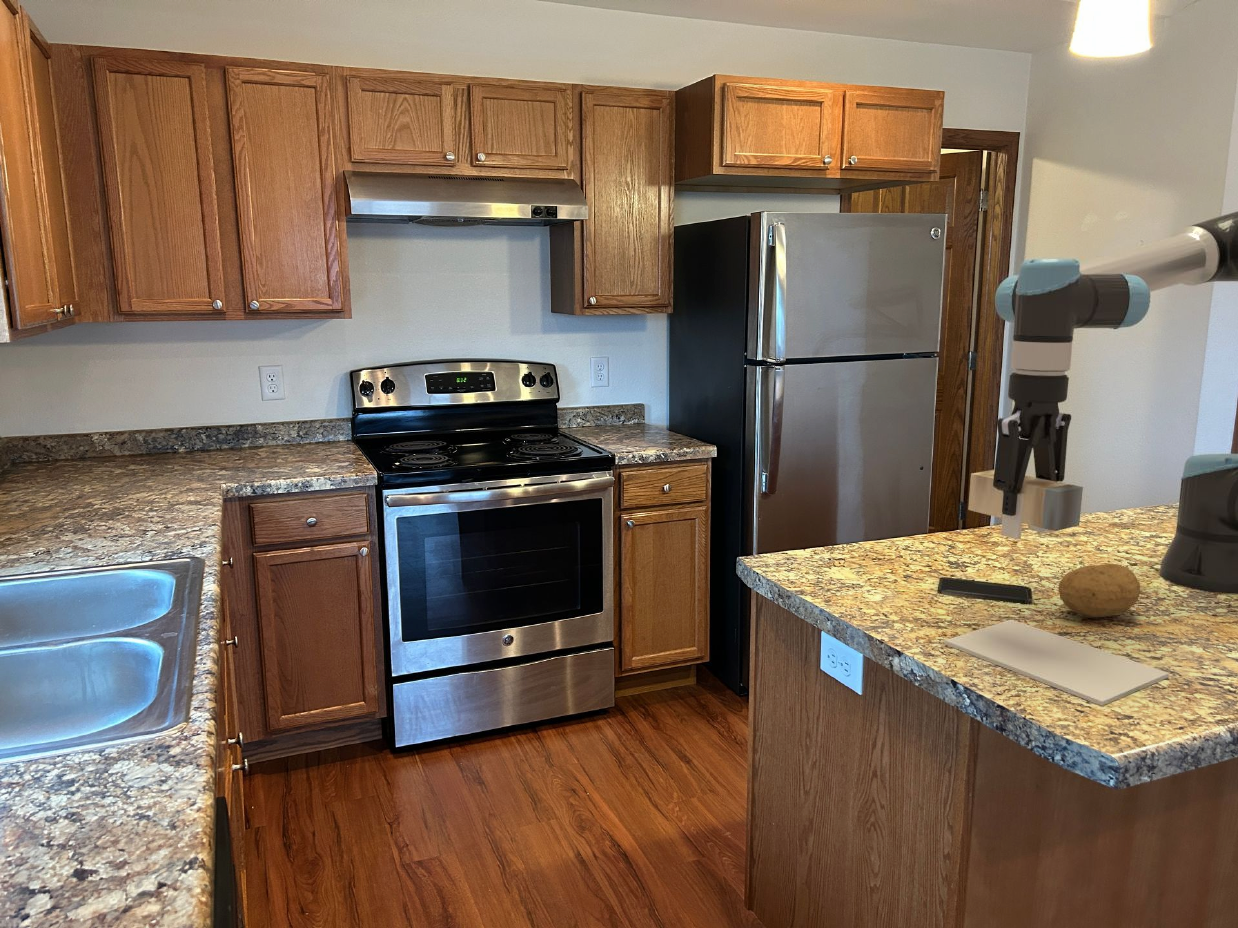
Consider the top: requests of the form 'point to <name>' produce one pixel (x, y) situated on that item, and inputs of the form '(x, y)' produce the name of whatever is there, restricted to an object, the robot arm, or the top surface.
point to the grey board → (1058, 661)
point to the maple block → (1030, 501)
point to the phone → (985, 590)
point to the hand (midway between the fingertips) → (1024, 533)
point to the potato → (1099, 590)
